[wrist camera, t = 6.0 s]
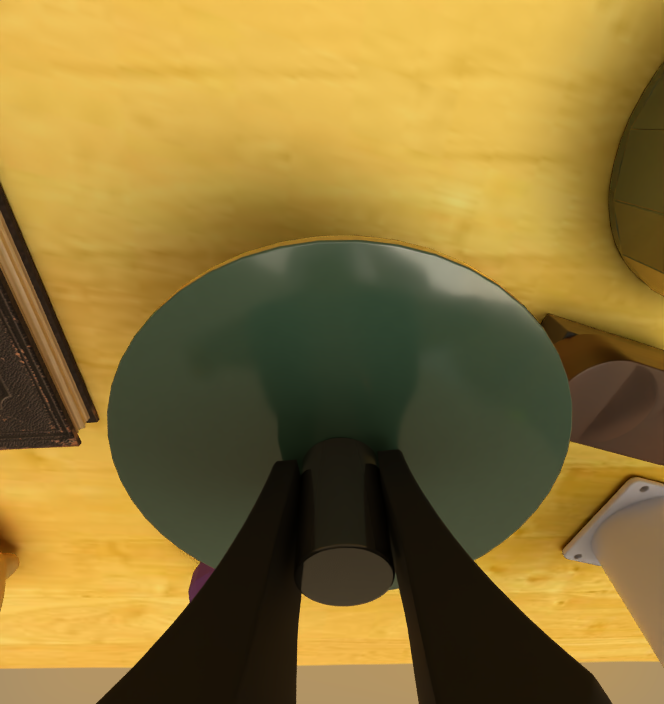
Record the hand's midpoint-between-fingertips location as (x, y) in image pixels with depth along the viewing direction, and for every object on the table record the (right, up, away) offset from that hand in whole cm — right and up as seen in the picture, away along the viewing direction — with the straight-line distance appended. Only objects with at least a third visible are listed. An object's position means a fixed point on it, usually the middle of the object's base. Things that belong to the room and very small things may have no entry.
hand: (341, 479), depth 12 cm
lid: (0, +1, +1) cm, 1 cm away
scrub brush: (+13, +3, +9) cm, 17 cm away
